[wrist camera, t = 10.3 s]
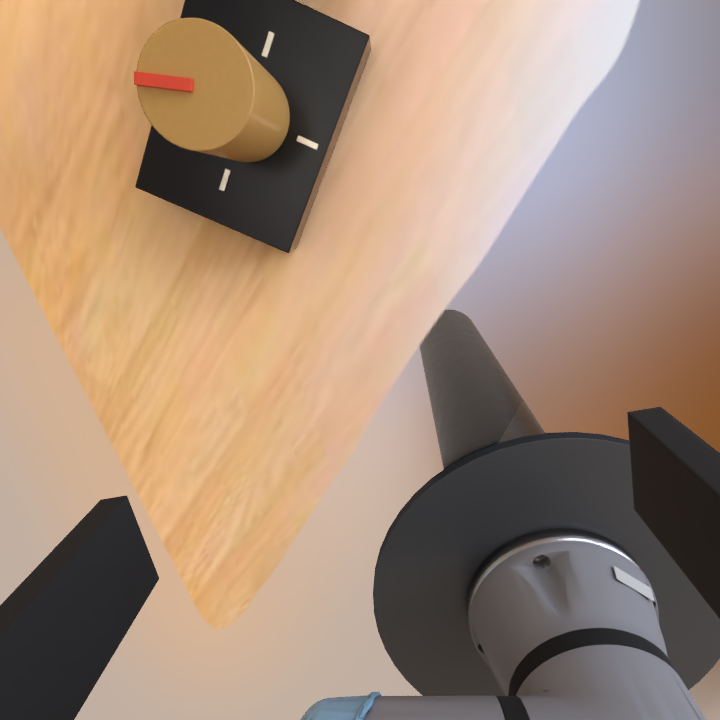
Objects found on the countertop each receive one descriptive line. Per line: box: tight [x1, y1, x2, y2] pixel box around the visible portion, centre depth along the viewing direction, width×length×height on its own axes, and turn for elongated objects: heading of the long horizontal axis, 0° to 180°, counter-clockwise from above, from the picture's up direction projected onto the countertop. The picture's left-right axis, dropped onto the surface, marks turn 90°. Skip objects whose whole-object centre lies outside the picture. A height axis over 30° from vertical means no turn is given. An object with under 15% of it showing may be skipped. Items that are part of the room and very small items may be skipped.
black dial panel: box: [136, 0, 371, 253], centre depth 34 cm, size 14×11×3 cm
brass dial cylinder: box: [134, 18, 290, 162], centre depth 28 cm, size 6×6×9 cm
